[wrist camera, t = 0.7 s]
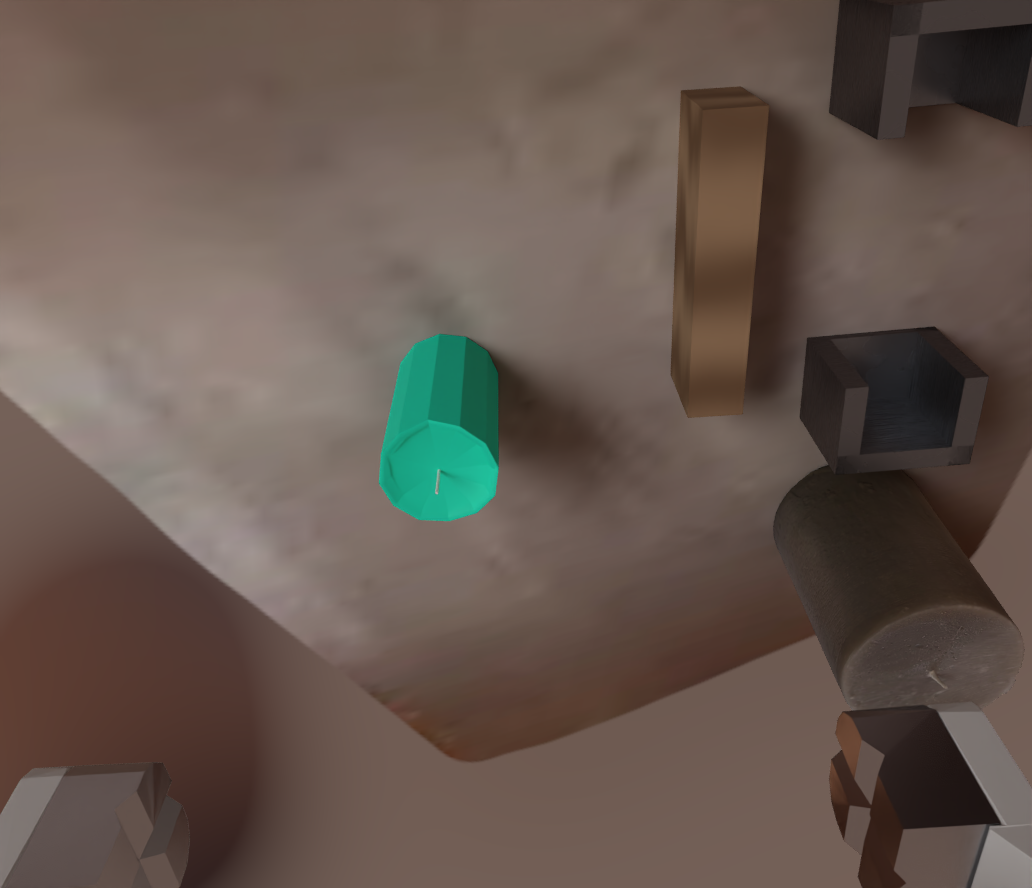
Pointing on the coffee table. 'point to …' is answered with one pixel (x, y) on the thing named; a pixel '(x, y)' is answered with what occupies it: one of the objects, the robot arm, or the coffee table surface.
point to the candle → (442, 431)
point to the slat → (716, 245)
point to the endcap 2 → (891, 400)
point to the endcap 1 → (931, 60)
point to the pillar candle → (893, 594)
